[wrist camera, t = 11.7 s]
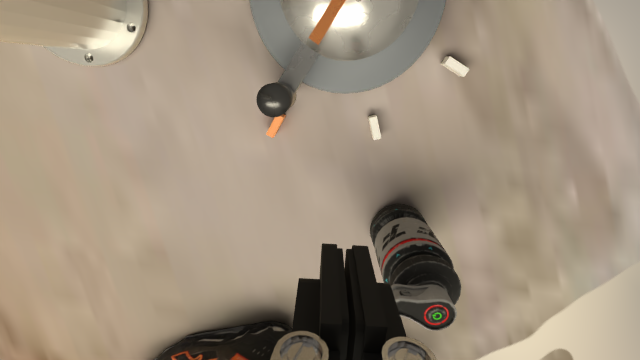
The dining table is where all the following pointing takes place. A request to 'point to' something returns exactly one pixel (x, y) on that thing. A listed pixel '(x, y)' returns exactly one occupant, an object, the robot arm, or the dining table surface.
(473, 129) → the dining table surface
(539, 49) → the dining table surface
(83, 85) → the dining table surface
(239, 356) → the athletic shoe
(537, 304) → the dining table surface
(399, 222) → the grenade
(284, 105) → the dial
